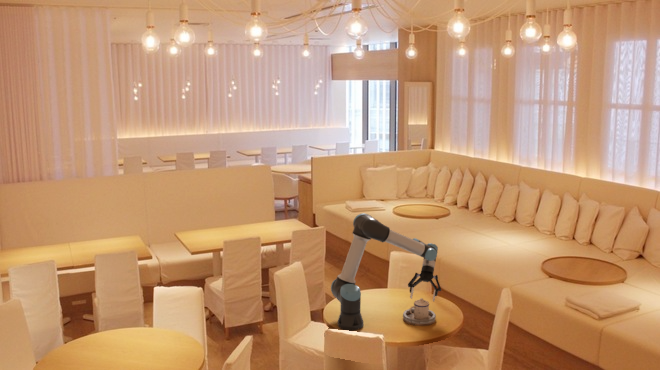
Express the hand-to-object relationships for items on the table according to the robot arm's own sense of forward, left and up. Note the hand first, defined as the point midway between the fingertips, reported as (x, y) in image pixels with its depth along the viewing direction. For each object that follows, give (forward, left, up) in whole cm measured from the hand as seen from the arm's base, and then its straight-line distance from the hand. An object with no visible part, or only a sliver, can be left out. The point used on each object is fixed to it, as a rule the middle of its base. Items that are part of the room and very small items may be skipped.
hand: (422, 299), depth 383 cm
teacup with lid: (-1, -3, -11) cm, 11 cm away
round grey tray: (-1, -3, -12) cm, 12 cm away
